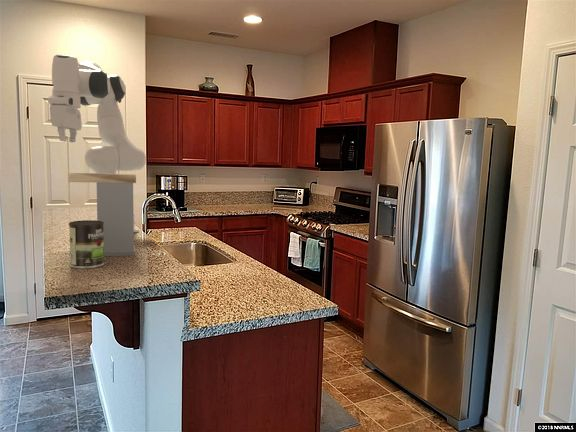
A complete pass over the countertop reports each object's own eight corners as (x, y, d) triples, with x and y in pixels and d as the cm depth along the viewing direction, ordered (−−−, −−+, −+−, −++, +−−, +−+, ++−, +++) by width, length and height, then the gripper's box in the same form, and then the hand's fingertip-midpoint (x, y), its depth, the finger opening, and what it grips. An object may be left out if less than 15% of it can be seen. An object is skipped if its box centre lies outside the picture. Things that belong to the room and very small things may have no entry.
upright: (98, 251, 166) (96, 181, 162) (134, 249, 170) (134, 181, 167) (96, 256, 158) (94, 183, 154) (135, 255, 162) (134, 183, 158)
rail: (69, 181, 157) (69, 172, 157) (135, 182, 164) (135, 174, 164) (68, 182, 154) (68, 173, 153) (136, 183, 161) (135, 174, 161)
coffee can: (111, 263, 149) (110, 221, 147) (87, 270, 140) (86, 225, 138) (87, 259, 153) (86, 219, 151) (62, 266, 143) (61, 223, 141)
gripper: (67, 105, 167) (68, 142, 169) (45, 97, 147) (47, 140, 148) (85, 106, 168) (86, 143, 169) (66, 98, 148) (67, 140, 149)
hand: (67, 141), depth 159 cm, fingers open, 8 cm apart
